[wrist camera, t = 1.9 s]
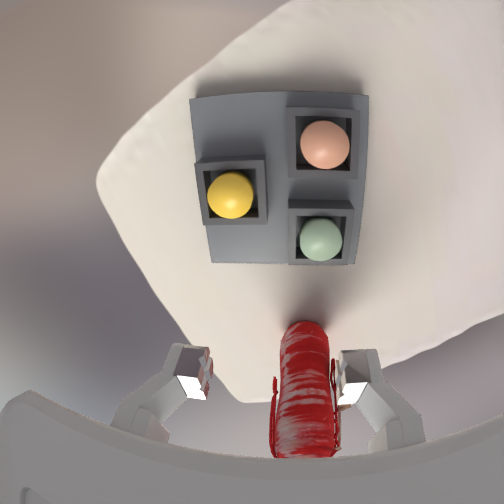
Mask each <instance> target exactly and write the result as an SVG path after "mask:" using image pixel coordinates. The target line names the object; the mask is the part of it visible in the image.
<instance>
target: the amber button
mask: <svg viewBox="0 0 504 504" xmlns="http://www.w3.org/2000/svg"><path fill="white" fill-rule="evenodd" d="M253 197H254V186H253V183H252V181H251V180H250V179H249V178H248V177H247V176H246V175H245V174H243V173H241V172H238V171H226V172H223V173H221V174H220V175H219V176H218V177H217V178H216V179H215V180H214V182H213V183H212V184H211V185H210V187H209V189H208V193H207V199H208V203H209V205H210V207H211V209H212V210H213V211H214V212H215V213H216V214H218V215H219V216H221V217H224V218H229V219H234V218H238V217H241V216H243V215H244V214H246V213H247V212H248V210H249V209H250V207H251V204H252V201H253Z"/></svg>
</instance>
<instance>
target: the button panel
mask: <svg viewBox="0 0 504 504" xmlns="http://www.w3.org/2000/svg"><path fill="white" fill-rule="evenodd" d="M189 103H190V112H191V121H192V130H193V139H194V147H195V155H196V163H195V164H194V166H195V174H196V181H197V188H198V194H199V201H200V208H201V214H202V221H203V225H206V231H207V238H208V244H209V250H210V256H211V261H212V263H260V264H288V265H348V264H355V259H356V253H357V246H358V240H359V233H360V225H361V217H362V209H363V200H364V190H365V179H366V166H367V149H368V120H369V96H367V95H358V94H348V93H334V92H313V91H271V92H250V93H237V94H226V95H216V96H208V97H201V98H194V99H189ZM316 120H327V121H330V122H333V123H334V124H336V125H338V126H339V127H341V128H342V129H343V130H344V131H345V133H346V134H347V137H348V139H349V145H350V147H349V153H348V155H347V157H346V159H345V160H344V161H343V162H342V163H341V164H340V165H338V166H337V167H334V168H331V169H321V168H317V167H315V166H313V165H312V164H310V163H309V162H308V161H307V160H306V159H305V157H304V155H303V153H302V150H301V147H300V135H301V132H302V130H303V129H304V128H305V127H306V126H307V125H308V124H309V123H311V122H313V121H316ZM226 171H238V172H241V173H243V174H245V175H246V176H247V177H248V178H249V179H250V180H251V181H252V183H253V186H254V197H253V201H252V204H251V207H250V209H249V210H248V212H247V213H246V214H244V215H243V216H241V217H238V218H234V219H229V218H224V217H221V216H219V215H218V214H216V213H215V212H214V211H213V210H212V209H211V207H210V205H209V203H208V199H207V193H208V189H209V187H210V185H211V184H212V183H213V182H214V180H215V179H216V178H217V177H218V176H219V175H220V174H221V173H223V172H226ZM314 216H327V217H329V218H331V219H333V220H334V221H335V222H336V224H337V225H338V228H339V231H340V234H341V237H342V246H341V249H340V251H339V252H338V253H337V255H335V256H334V257H333V258H331V259H329V260H325V261H315V260H312V259H310V258H308V257H307V256H305V255H304V253H303V252H302V250H301V247H300V236H299V233H300V228H301V226H302V224H303V223H304V222H305V221H306V220H307V219H309V218H311V217H314Z"/></svg>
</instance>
